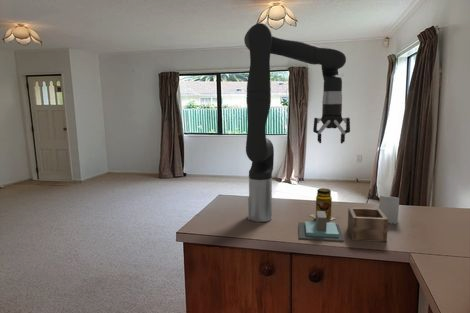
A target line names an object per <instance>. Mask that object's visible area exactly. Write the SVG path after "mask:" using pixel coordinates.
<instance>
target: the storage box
mask: <svg viewBox="0 0 470 313" xmlns="http://www.w3.org/2000/svg"><path fill="white" fill-rule="evenodd" d="M347 210H348V212H347V229H348V232H349V234H350V235H349V236H350V238H351V241H360V240H370V241H369V242H377V241H386V242H385V243H387V242H388V240H387V239H388V227H389V223H388V219H387V217H386V216H385V215H384V213H383V212H382V211H381V209H379V208H369V207H368V208H367V207H348V208H347Z"/></svg>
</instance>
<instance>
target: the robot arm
mask: <svg viewBox="0 0 470 313" xmlns="http://www.w3.org/2000/svg"><path fill="white" fill-rule="evenodd" d="M243 40H244V46H245V47H246V48H247V49H248V50H249V58H250V60H249V61H250V62H249V71H248V77H247V82H246V83H247V84H246V114H247V116H246V117H247V118H246V120H247V131H246V132H247V133H246V142H245V153H246V157H247V158H248V160H249V161H251V166H250V168H249V171H248V197H247V202H248V203H247V205H248V206H247V211H248V212H247V214H248V216H247V218H248V221H252V222H257V223H258V222H259V223H264V222H266V223H267V222H269V221H271V220H272V218H273V217H272V216H273V215H272V214H273V209H272V208H273V207H272V206H273V205H272V204H273V201H272V200H273V198H272V197H273V194H272V193H273V188H272V187H273V186H272V184H273V179H272V178H273V171H274V164H275V163H274V160H275V159H274V158H275V157H274V156H275V153H274V152H275V150H274V148H275V147H274V144H273V142H272V141H271V140H270V138H267V136H266V135H267V134H266V133H267V132H266V130H267V129H266V127H267V121H268V116H269V113H270V109H271V102H272V99H271V98H272V93H271V91H272V90H271V89H272V87H271V67H270V66H271V65H270V64H271V63H270V62H271V54H272V55H276V56H282V57H285V58H289V59H290V60H291V59H292V60H296V61H298V62H302V63H306V64H309V65H313V66H314V65H319V66H320V65H321V73H322V78H323V92H322V94H323V95H322V102H321V103H322V109H321V110H322V115H321V117H320V118H319V117H314V120H313V128H312V130H313V133H315V134H317V142H318V143H319V144H322V132H324V130H325V129H338V130H339V132H340V133H341V134H340V144H344V142H345V141H346V140H345V139H346V134H348V133H350V132H351V120H350V119H351V118H350V117H343V114H342V110H343V92H342V91H343V79H342V77H341V76H340V75H339V69H341V68H343V67H344V66H345V65H346V61H347V57H346V55H345V53H344V52H343V51H341V50H340V49H334V48H329V47H320V46H318V45H315V44H312V43H308V42H304V41H299V40H291V39H290V40H289V39H284V38H279V37H276V36H274V35H272V31H271V29H270V28H269V26H268V25H266V24H265V23H262V22H257V23H255V24H254V25H252V26H251V27H250V28H249V29H248V30H247V31H246V33H245V35H244V38H243ZM320 122H321V123H322V125H321V127H320V128H319V129H318V124H319V123H320ZM343 122H344V123H345V129H344V128H343V127H342V126H341V124H342V123H343Z"/></svg>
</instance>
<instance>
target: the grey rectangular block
mask: <svg viewBox="0 0 470 313" xmlns="http://www.w3.org/2000/svg"><path fill="white" fill-rule="evenodd" d="M378 202H379V203H378V209H381V211H382V212H383V213H384V215H385V216H386V217H387V219H388V224H392V223H394V224H395V225H398V222H399V210H400V197H395V196H388V195H387V196H386V195H379V201H378ZM394 224H393V225H394Z"/></svg>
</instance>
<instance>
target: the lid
mask: <svg viewBox="0 0 470 313" xmlns="http://www.w3.org/2000/svg"><path fill="white" fill-rule="evenodd" d="M315 220H316V221H310V220H308V221H306V220H305V221H304V223H305V227H306V236H322V237H339V233H338V230H337V227H336V224H337V223H336V222H334V221H333V222H332V221H331V222H330V221H329V222H328V221H327V217H326V213H325V211H317V215H316V219H315Z"/></svg>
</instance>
